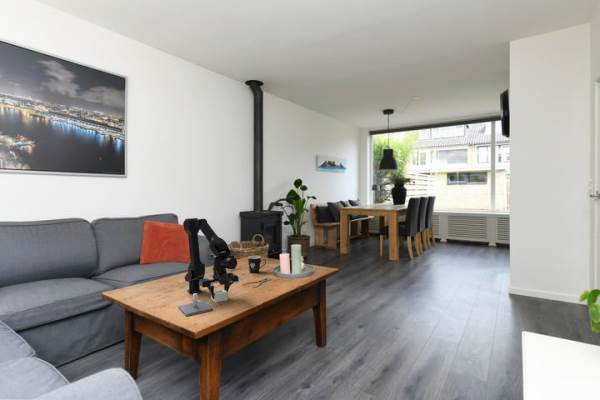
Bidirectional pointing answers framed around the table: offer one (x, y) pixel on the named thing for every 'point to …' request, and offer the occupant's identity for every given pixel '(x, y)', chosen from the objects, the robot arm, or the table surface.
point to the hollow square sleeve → (219, 295)
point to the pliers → (259, 281)
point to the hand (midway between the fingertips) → (219, 297)
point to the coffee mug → (254, 264)
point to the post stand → (195, 307)
